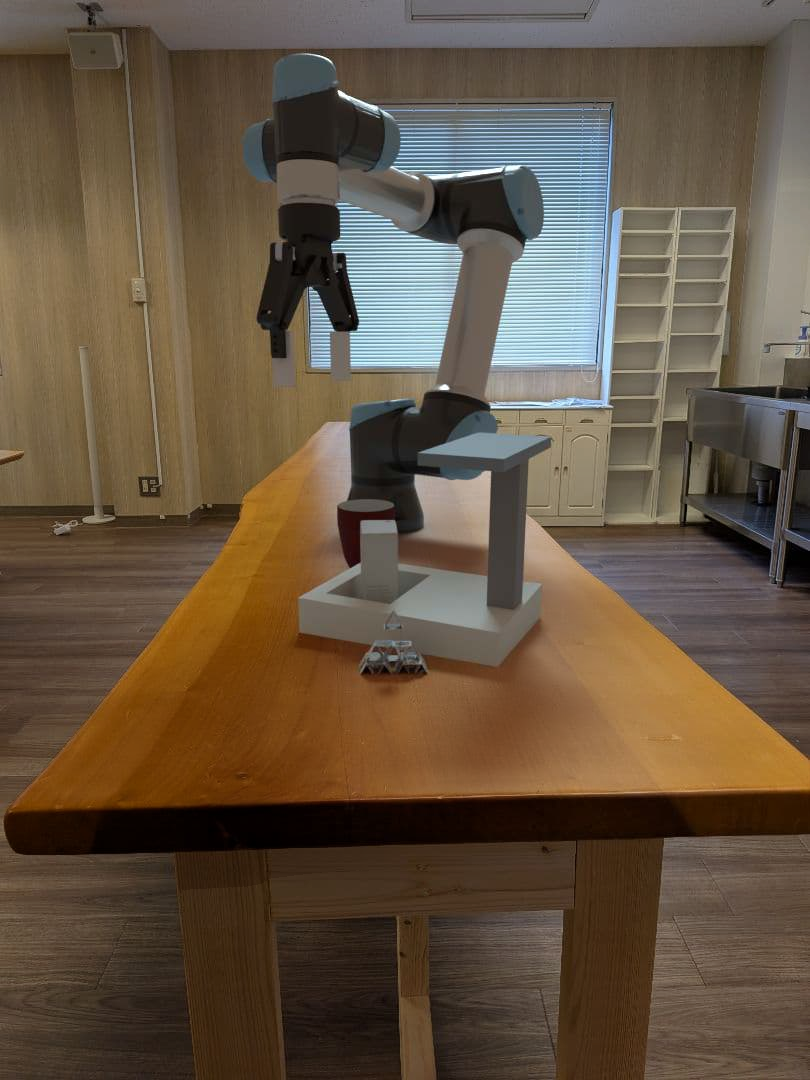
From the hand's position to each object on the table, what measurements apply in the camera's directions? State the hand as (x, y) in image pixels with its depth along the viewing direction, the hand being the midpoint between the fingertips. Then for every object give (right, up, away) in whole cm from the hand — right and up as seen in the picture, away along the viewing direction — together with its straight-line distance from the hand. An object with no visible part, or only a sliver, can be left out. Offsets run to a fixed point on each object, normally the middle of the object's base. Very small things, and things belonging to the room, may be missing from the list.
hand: (314, 383), depth 94 cm
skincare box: (+9, -30, -9) cm, 33 cm away
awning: (+20, -27, -15) cm, 37 cm away
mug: (+6, -26, +9) cm, 28 cm away
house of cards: (+11, -34, -21) cm, 41 cm away
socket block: (+14, -31, -11) cm, 35 cm away
